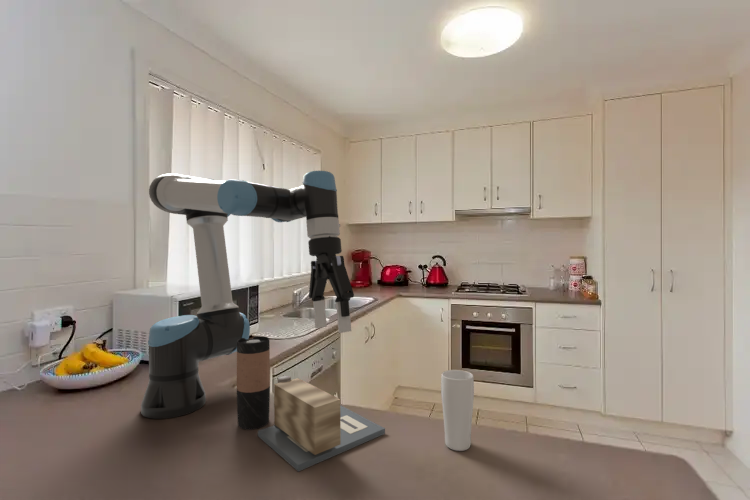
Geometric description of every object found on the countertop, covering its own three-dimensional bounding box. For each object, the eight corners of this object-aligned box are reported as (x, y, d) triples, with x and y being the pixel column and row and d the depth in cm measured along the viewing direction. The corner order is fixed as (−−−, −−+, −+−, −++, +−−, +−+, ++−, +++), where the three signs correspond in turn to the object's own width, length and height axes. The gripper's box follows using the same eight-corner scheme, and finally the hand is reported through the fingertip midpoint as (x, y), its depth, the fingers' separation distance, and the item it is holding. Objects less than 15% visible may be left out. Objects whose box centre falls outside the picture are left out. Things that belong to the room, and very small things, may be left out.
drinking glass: (453, 434, 84) (452, 367, 84) (480, 445, 79) (480, 374, 79) (435, 445, 79) (434, 374, 79) (462, 458, 74) (462, 382, 74)
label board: (255, 434, 84) (255, 425, 84) (335, 407, 99) (335, 399, 99) (298, 471, 70) (298, 460, 70) (384, 433, 84) (384, 424, 84)
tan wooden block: (269, 420, 86) (269, 379, 86) (292, 413, 90) (292, 373, 90) (314, 455, 71) (314, 405, 71) (340, 444, 75) (340, 397, 75)
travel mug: (260, 431, 86) (260, 344, 86) (230, 428, 87) (229, 342, 87) (275, 417, 93) (275, 336, 93) (247, 414, 95) (247, 335, 95)
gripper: (363, 229, 79) (373, 331, 77) (319, 243, 100) (326, 323, 99) (331, 230, 75) (340, 337, 73) (292, 244, 96) (298, 328, 95)
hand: (332, 329), depth 86 cm, fingers open, 13 cm apart
